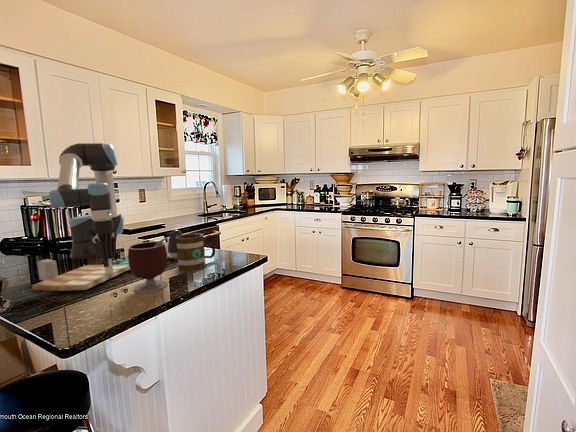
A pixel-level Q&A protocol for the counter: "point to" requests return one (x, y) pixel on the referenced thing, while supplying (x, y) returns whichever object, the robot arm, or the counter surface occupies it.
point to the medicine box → (47, 269)
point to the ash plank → (93, 278)
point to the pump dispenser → (173, 243)
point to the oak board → (65, 278)
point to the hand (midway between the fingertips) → (109, 273)
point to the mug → (192, 251)
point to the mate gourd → (148, 264)
